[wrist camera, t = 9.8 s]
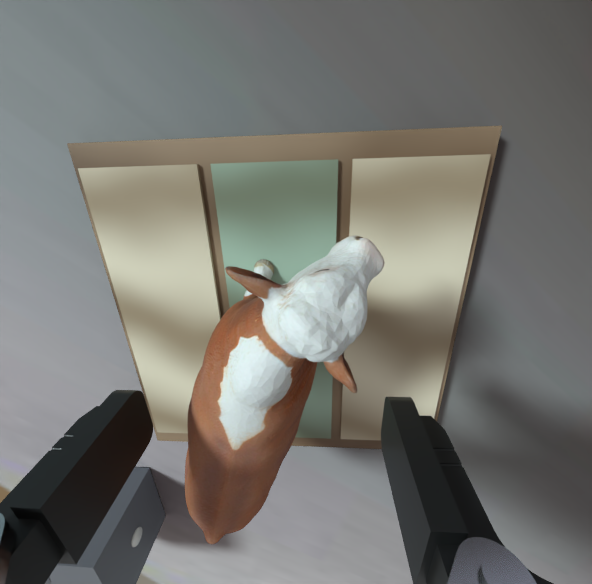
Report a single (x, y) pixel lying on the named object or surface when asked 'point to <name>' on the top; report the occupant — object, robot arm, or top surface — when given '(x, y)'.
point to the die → (119, 537)
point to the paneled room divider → (291, 254)
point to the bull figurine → (269, 378)
